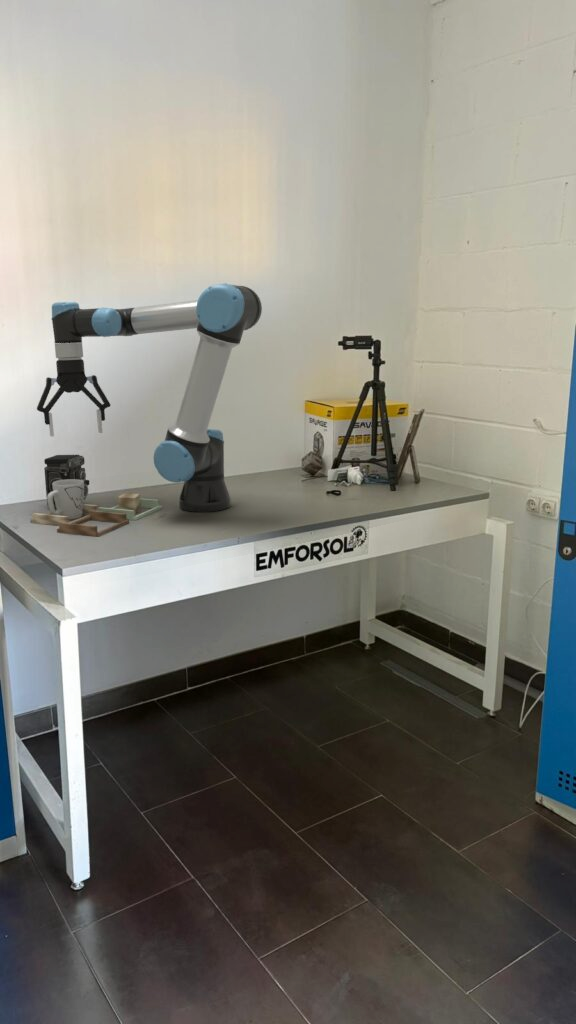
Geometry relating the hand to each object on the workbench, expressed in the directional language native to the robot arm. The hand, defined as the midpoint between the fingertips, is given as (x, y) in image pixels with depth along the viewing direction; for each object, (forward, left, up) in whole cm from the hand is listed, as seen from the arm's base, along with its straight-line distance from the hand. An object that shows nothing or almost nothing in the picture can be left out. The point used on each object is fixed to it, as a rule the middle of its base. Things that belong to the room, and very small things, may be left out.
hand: (76, 434), depth 222 cm
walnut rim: (-17, +18, -22) cm, 33 cm away
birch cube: (-17, 0, -22) cm, 27 cm away
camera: (+4, 0, -22) cm, 22 cm away
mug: (-4, +12, -22) cm, 25 cm away
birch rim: (-4, +12, -22) cm, 25 cm away
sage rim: (-17, 0, -22) cm, 27 cm away
